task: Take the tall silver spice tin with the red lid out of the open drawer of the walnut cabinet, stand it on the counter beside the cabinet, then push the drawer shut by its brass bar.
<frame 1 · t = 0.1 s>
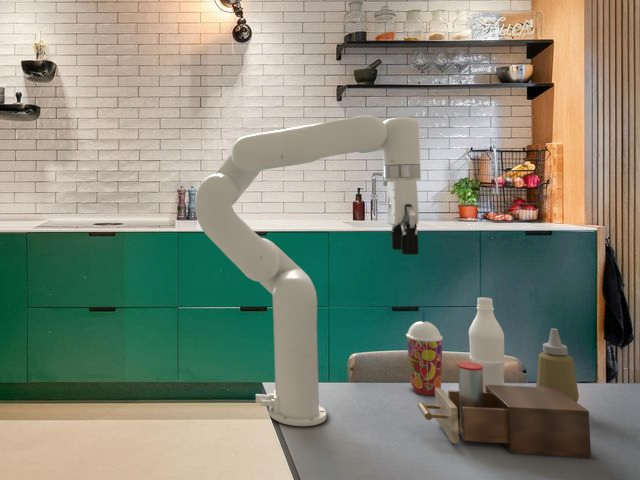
hand: (404, 251, 123), 37 cm above the table, tool pointing down, fingers open, 9 cm apart
squeeze bottle: (557, 410, 127), on the table
spice tin: (472, 427, 114), point 2 cm above the table, touching drawer
water bottle: (489, 410, 128), on the table
smoothie: (426, 392, 140), on the table
drawer: (464, 415, 114), point 4 cm above the table, slide at 9.0 cm, touching spice tin
cabinet: (535, 440, 112), on the table
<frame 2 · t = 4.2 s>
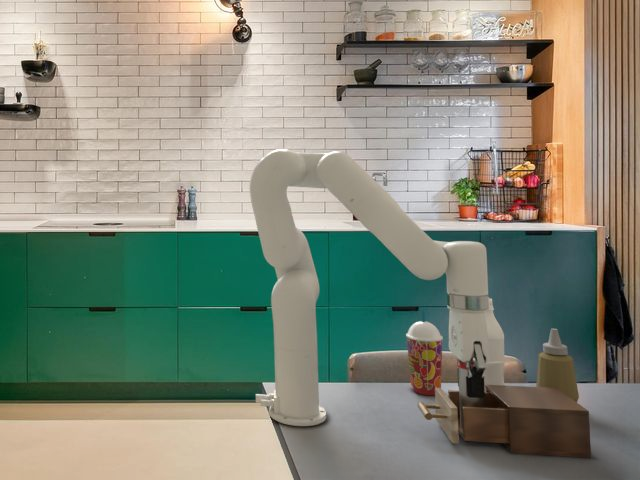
hand: (471, 391, 114), 9 cm above the table, tool pointing down, fingers closed on spice tin, 4 cm apart
spice tin: (472, 427, 114), point 2 cm above the table, touching drawer, gripper
everything else where it was.
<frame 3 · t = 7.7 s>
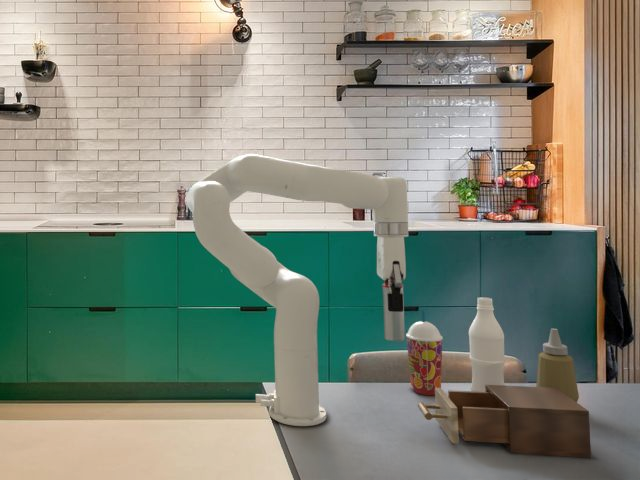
hand: (393, 308, 130), 23 cm above the table, tool pointing down, fingers closed on spice tin, 4 cm apart
spice tin: (394, 338, 130), point 16 cm above the table, touching gripper
drawer: (464, 415, 114), point 4 cm above the table, slide at 9.0 cm
everything else where it was.
when the fingers open (7 cm above the table, at t = 11.6 s): spice tin stays where it is, on the table.
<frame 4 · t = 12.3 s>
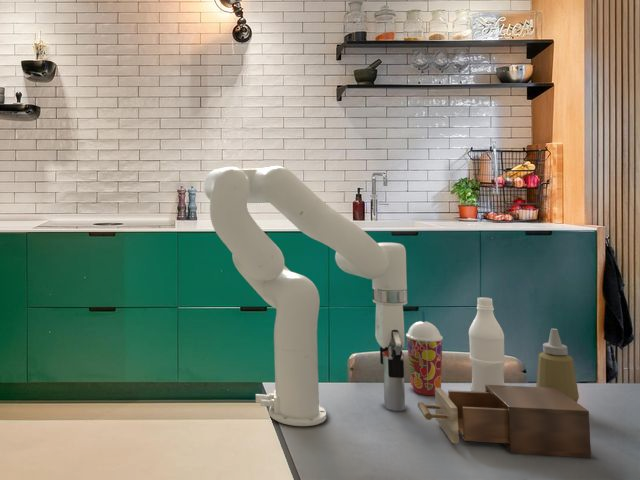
hand: (391, 370, 130), 8 cm above the table, tool pointing down, fingers open, 9 cm apart
spice tin: (394, 407, 130), on the table
everything else where it was.
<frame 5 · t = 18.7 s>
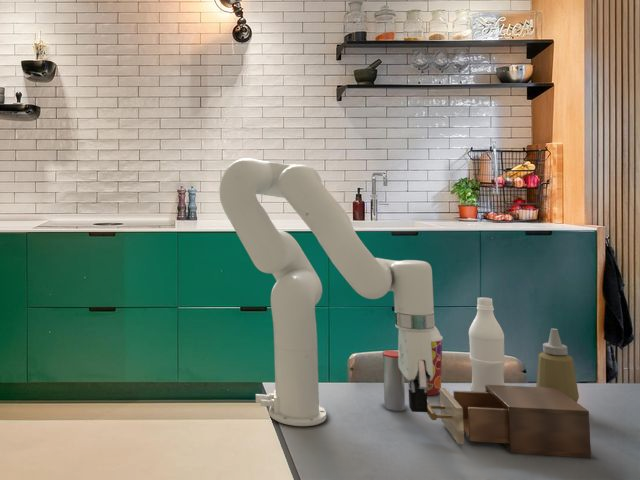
hand: (418, 410, 116), 5 cm above the table, tool pointing down, fingers closed
drawer: (470, 415, 114), point 4 cm above the table, slide at 8.0 cm, touching gripper
everything else where it was.
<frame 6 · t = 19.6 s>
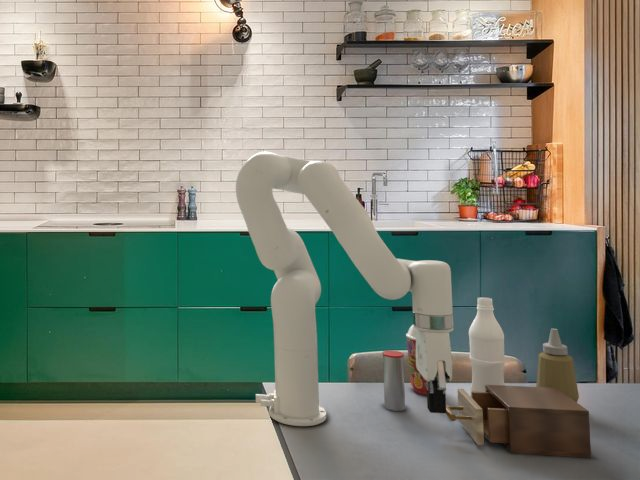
hand: (436, 411, 115), 5 cm above the table, tool pointing down, fingers closed
drawer: (489, 416, 114), point 4 cm above the table, slide at 4.5 cm, touching gripper
everything else where it was.
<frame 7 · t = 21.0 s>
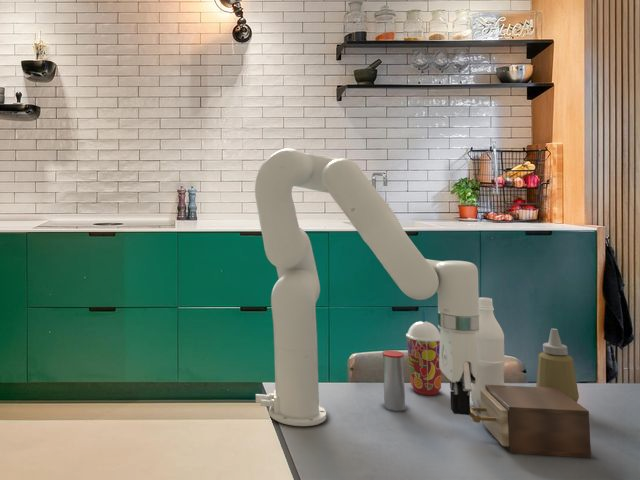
hand: (460, 412, 115), 5 cm above the table, tool pointing down, fingers closed
drawer: (513, 417, 113), point 4 cm above the table, slide at 0.0 cm, touching cabinet, gripper
everything else where it was.
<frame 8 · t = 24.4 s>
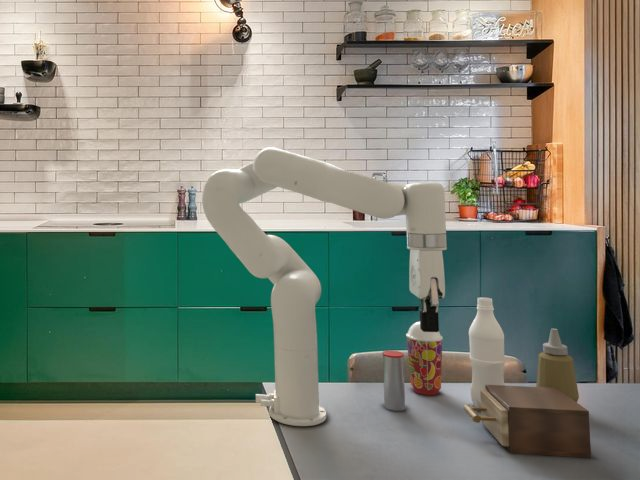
hand: (429, 330, 116), 21 cm above the table, tool pointing down, fingers closed
drawer: (513, 417, 113), point 4 cm above the table, slide at 0.0 cm
everything else where it was.
at the end: spice tin inside the target area (0.3 cm from its centre), on the table; spice tin tilted 0°; drawer slide at 0.0 cm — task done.
